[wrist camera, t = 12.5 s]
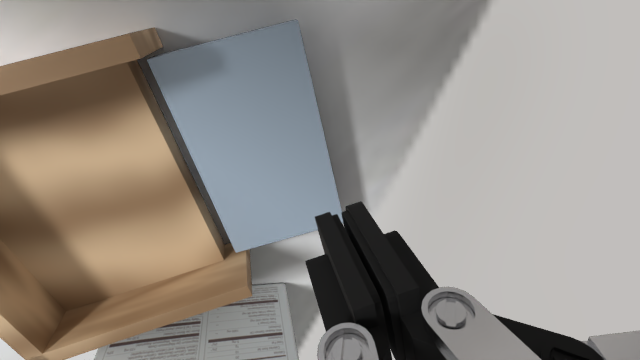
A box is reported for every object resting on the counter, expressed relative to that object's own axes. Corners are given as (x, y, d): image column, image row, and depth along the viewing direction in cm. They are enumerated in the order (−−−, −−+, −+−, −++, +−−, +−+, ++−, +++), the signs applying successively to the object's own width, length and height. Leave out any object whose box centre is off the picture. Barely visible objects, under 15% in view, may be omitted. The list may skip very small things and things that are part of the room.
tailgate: (146, 59, 17) (297, 20, 17) (155, 55, 18) (295, 19, 19) (235, 252, 24) (344, 222, 24) (237, 238, 25) (339, 210, 25)
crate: (-115, 96, 17) (-238, 126, 12) (154, 27, 18) (129, 33, 14) (70, 305, 25) (35, 369, 20) (249, 247, 26) (252, 296, 21)
